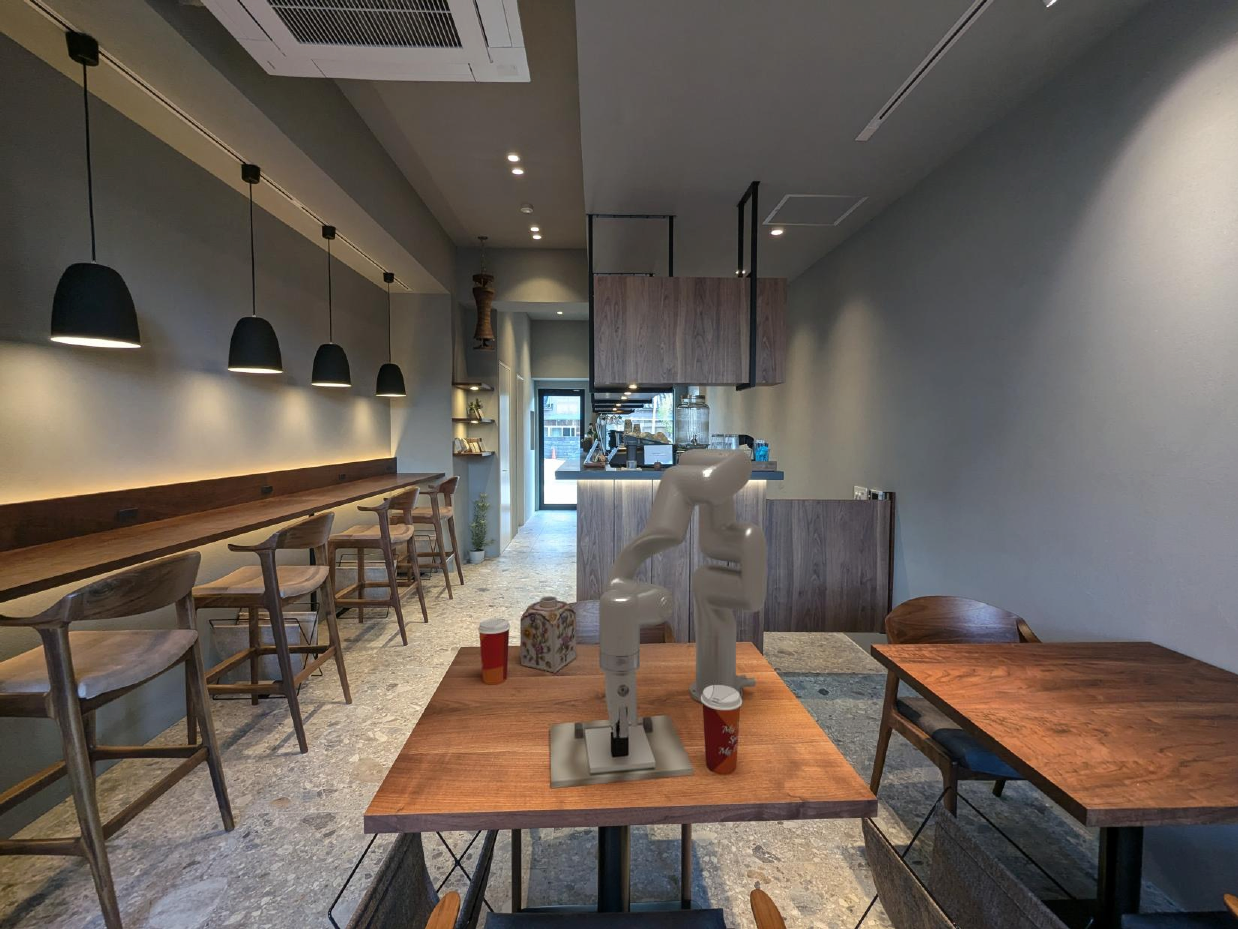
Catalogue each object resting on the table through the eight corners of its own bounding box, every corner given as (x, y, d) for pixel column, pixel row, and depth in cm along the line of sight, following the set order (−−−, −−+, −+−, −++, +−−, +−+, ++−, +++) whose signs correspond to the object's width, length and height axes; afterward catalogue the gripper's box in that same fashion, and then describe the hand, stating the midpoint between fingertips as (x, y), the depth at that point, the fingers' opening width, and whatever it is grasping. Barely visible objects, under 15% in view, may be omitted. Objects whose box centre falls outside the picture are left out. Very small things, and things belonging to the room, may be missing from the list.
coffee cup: (496, 670, 141) (495, 615, 140) (517, 677, 136) (517, 621, 135) (471, 681, 134) (470, 624, 133) (492, 690, 129) (491, 630, 128)
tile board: (669, 720, 115) (669, 706, 114) (693, 774, 96) (693, 757, 96) (550, 730, 111) (549, 715, 111) (550, 788, 92) (550, 770, 92)
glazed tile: (641, 722, 109) (655, 761, 95) (641, 727, 109) (655, 768, 95) (584, 726, 108) (590, 767, 94) (584, 732, 108) (590, 774, 94)
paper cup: (733, 783, 93) (733, 707, 93) (693, 769, 97) (694, 696, 97) (747, 761, 100) (748, 689, 99) (709, 748, 104) (710, 679, 103)
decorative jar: (543, 650, 154) (543, 590, 153) (577, 657, 148) (577, 595, 148) (519, 666, 143) (518, 601, 142) (554, 674, 138) (554, 607, 137)
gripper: (646, 674, 90) (646, 777, 91) (632, 642, 105) (632, 731, 106) (603, 677, 89) (604, 781, 90) (595, 644, 104) (596, 734, 105)
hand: (619, 754), depth 98 cm, fingers closed
